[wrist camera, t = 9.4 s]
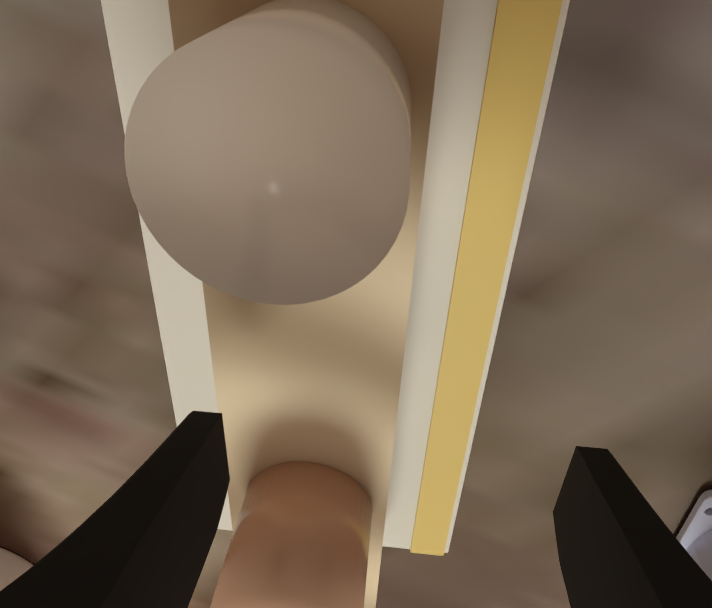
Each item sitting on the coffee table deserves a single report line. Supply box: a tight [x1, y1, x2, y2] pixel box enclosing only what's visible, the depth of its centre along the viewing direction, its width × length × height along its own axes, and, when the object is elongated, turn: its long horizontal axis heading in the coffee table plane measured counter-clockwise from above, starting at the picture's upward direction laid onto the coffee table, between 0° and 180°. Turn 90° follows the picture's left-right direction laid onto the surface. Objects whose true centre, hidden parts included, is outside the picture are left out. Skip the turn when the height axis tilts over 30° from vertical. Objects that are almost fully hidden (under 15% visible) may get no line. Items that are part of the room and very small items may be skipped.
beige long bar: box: [168, 0, 444, 608], centre depth 16 cm, size 24×5×4 cm, turn 178°
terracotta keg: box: [210, 462, 372, 608], centre depth 16 cm, size 4×4×4 cm
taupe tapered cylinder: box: [124, 0, 411, 305], centre depth 10 cm, size 4×4×4 cm
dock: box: [101, 0, 570, 556], centre depth 19 cm, size 26×11×3 cm, turn 178°
